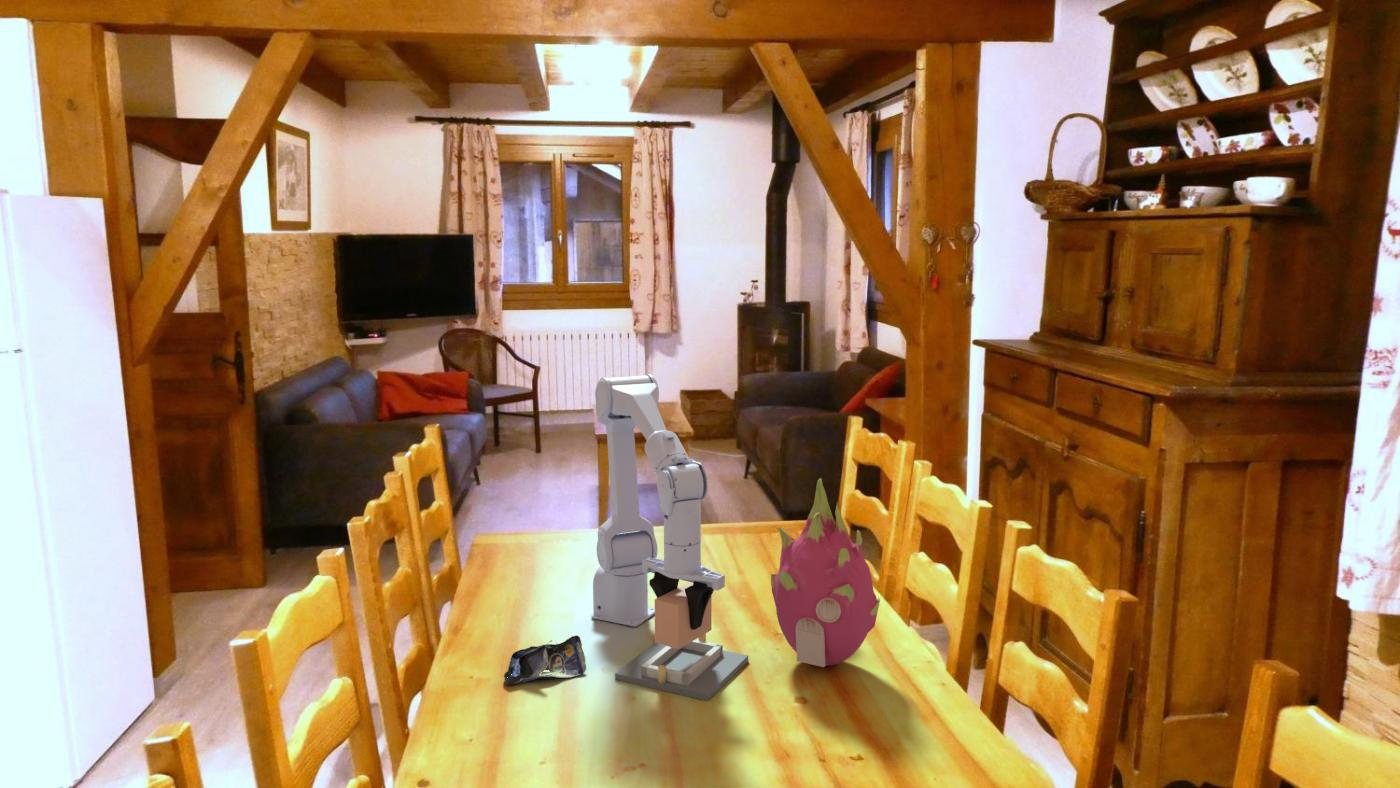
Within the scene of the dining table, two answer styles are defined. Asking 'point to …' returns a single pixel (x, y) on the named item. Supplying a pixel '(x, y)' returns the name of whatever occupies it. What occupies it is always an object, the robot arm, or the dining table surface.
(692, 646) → the socket plate
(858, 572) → the pink dragon fruit
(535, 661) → the snack package
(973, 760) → the dining table surface
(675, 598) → the block
